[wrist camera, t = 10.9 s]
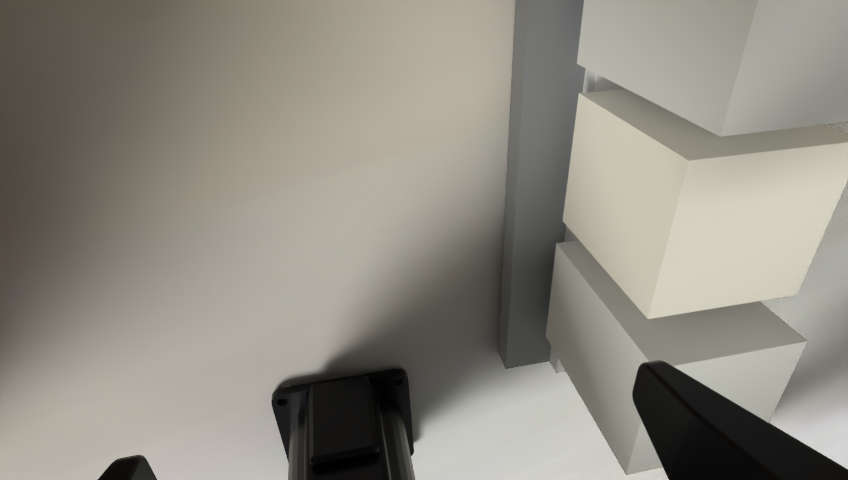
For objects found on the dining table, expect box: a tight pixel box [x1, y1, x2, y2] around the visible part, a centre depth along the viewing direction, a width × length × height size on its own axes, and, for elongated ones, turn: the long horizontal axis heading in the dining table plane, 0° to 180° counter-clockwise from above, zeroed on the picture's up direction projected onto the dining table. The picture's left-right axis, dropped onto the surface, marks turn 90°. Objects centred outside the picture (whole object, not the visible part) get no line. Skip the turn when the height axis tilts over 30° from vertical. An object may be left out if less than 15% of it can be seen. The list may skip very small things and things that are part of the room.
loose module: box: [563, 89, 848, 319], centre depth 17 cm, size 5×5×6 cm
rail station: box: [498, 0, 848, 475], centre depth 17 cm, size 22×8×9 cm, turn 2°
